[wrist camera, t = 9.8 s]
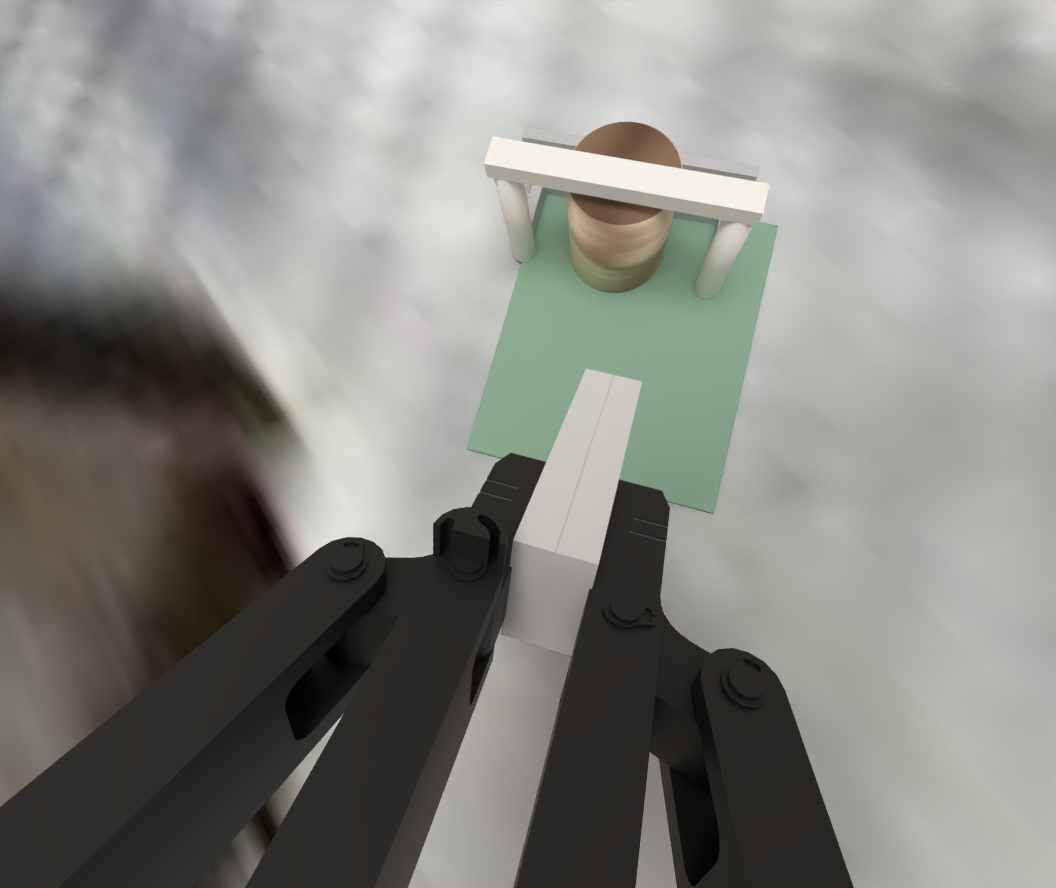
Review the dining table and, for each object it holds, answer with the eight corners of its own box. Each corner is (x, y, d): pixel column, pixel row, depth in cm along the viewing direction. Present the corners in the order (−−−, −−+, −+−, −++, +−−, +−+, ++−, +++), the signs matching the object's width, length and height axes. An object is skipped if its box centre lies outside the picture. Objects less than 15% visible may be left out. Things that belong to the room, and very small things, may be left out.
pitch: (776, 228, 41) (777, 225, 41) (712, 513, 38) (713, 512, 38) (545, 186, 44) (544, 183, 44) (468, 449, 41) (467, 448, 41)
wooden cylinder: (667, 211, 42) (688, 123, 33) (657, 296, 41) (677, 229, 32) (576, 205, 43) (573, 118, 34) (564, 289, 42) (558, 221, 33)
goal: (735, 219, 41) (788, 103, 31) (715, 302, 41) (763, 213, 30) (533, 182, 44) (515, 62, 33) (510, 260, 43) (483, 163, 32)
